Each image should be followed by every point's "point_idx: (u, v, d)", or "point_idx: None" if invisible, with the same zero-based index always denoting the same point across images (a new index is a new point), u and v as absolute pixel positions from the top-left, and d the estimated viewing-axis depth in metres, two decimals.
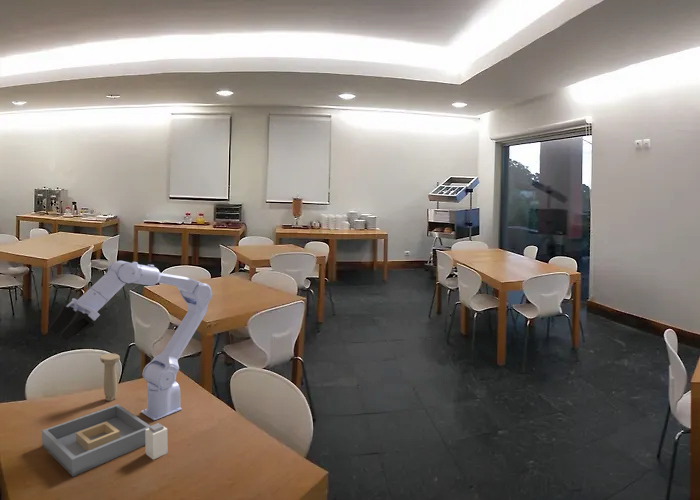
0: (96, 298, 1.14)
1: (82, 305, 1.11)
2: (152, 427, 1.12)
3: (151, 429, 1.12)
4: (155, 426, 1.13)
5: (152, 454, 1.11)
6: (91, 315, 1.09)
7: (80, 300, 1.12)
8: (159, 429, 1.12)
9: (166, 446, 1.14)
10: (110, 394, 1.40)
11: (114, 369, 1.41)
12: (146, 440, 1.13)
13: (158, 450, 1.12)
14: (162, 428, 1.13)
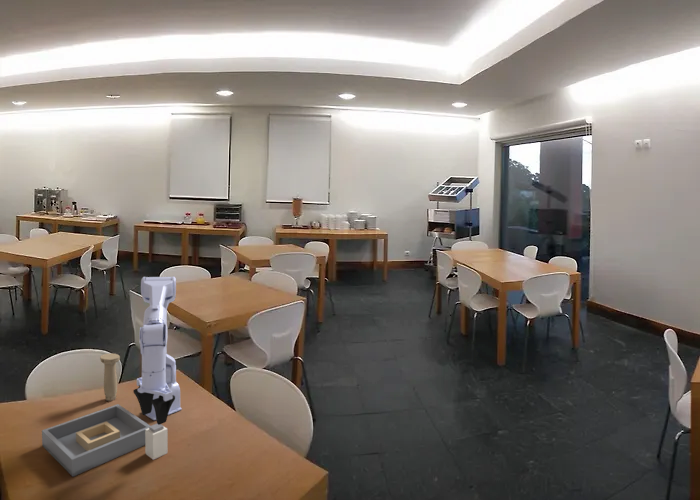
0: (155, 377, 1.09)
1: (151, 392, 1.08)
2: (152, 427, 1.12)
3: (151, 429, 1.12)
4: (155, 426, 1.13)
5: (152, 454, 1.11)
6: (166, 399, 1.07)
7: (145, 387, 1.09)
8: (159, 429, 1.12)
9: (166, 446, 1.14)
10: (110, 394, 1.40)
11: (114, 369, 1.41)
12: (146, 440, 1.13)
13: (158, 450, 1.12)
14: (162, 428, 1.13)
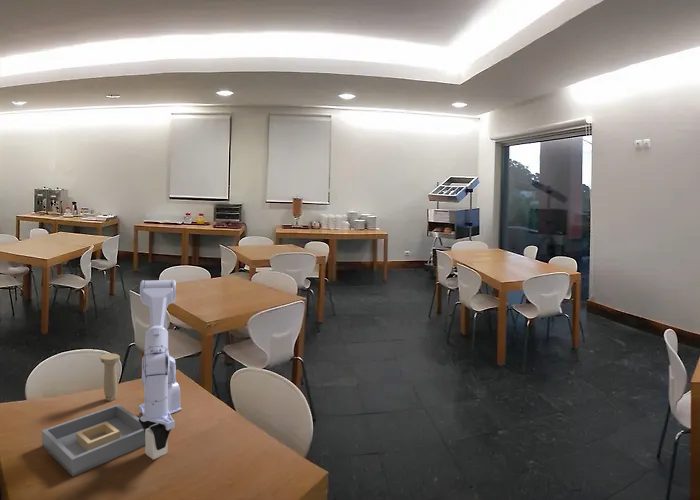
0: (158, 406, 1.10)
1: (153, 420, 1.09)
2: None
3: None
4: None
5: (152, 454, 1.11)
6: (168, 428, 1.08)
7: (147, 415, 1.10)
8: None
9: (166, 446, 1.14)
10: (110, 394, 1.40)
11: (114, 369, 1.41)
12: (146, 440, 1.13)
13: (158, 450, 1.12)
14: None
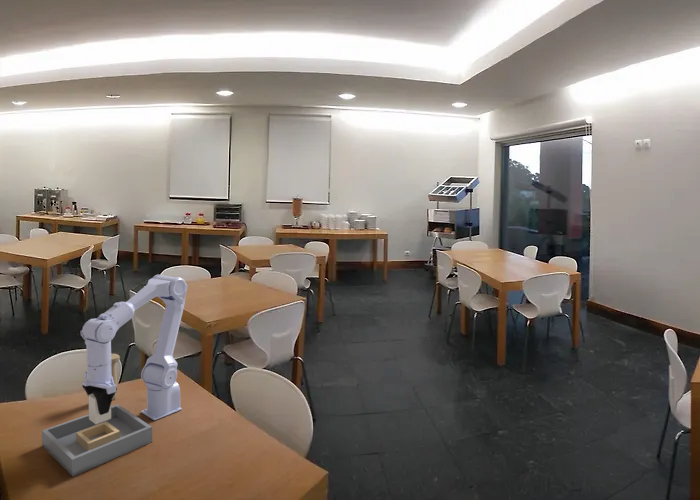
0: (100, 371, 1.12)
1: (95, 385, 1.11)
2: None
3: None
4: None
5: (94, 419, 1.13)
6: (109, 392, 1.10)
7: (89, 380, 1.12)
8: None
9: (109, 412, 1.16)
10: None
11: (114, 369, 1.41)
12: (89, 405, 1.15)
13: (101, 415, 1.14)
14: None
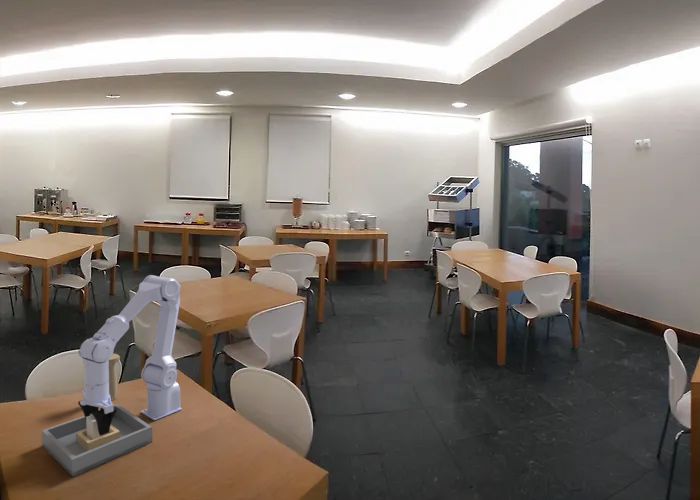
0: (97, 390, 1.13)
1: (92, 404, 1.12)
2: None
3: (91, 416, 1.15)
4: None
5: None
6: (107, 411, 1.11)
7: (87, 399, 1.13)
8: None
9: (107, 433, 1.17)
10: (110, 394, 1.40)
11: (114, 369, 1.41)
12: (87, 427, 1.16)
13: (98, 437, 1.15)
14: None
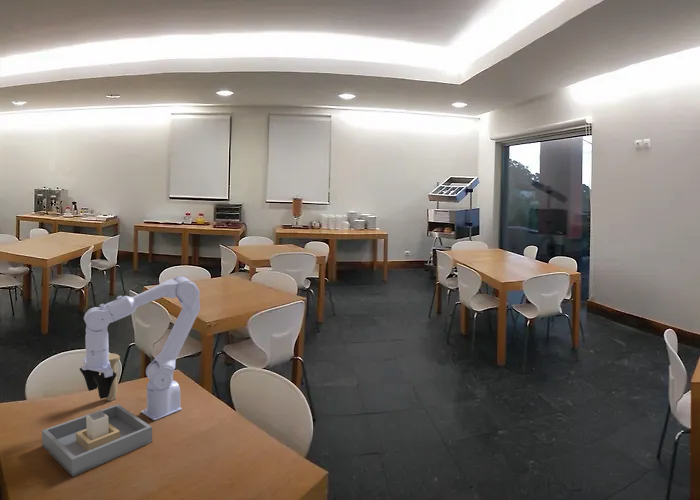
0: (98, 356, 1.21)
1: (93, 369, 1.20)
2: (93, 415, 1.15)
3: (91, 416, 1.15)
4: (96, 414, 1.16)
5: None
6: (106, 375, 1.19)
7: (88, 365, 1.21)
8: (99, 416, 1.15)
9: (107, 433, 1.17)
10: (110, 394, 1.40)
11: (114, 369, 1.41)
12: (87, 427, 1.16)
13: (98, 437, 1.15)
14: (103, 416, 1.16)
